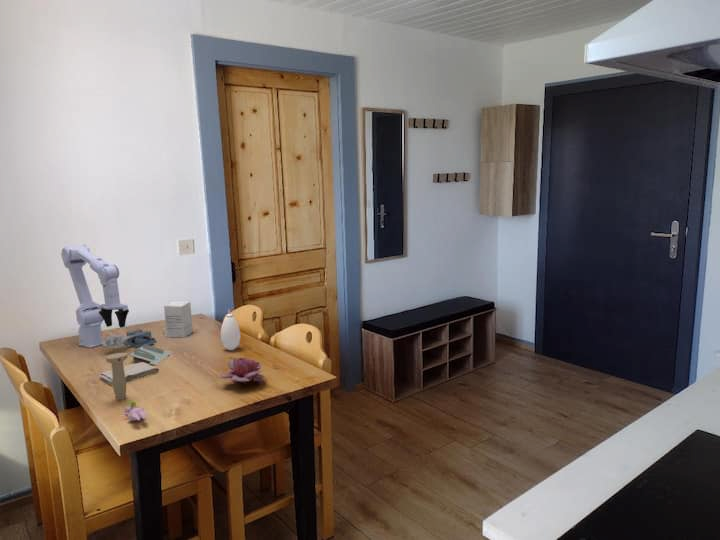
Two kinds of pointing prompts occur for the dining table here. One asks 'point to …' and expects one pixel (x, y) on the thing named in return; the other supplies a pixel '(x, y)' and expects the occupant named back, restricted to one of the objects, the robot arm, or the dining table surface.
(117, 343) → the notched block
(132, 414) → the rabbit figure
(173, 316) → the supplement box
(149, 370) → the washcloth
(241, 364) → the flower
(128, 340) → the vise
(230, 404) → the dining table surface
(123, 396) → the handle
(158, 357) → the metal bracket
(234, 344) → the sauce bottle
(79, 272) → the robot arm
